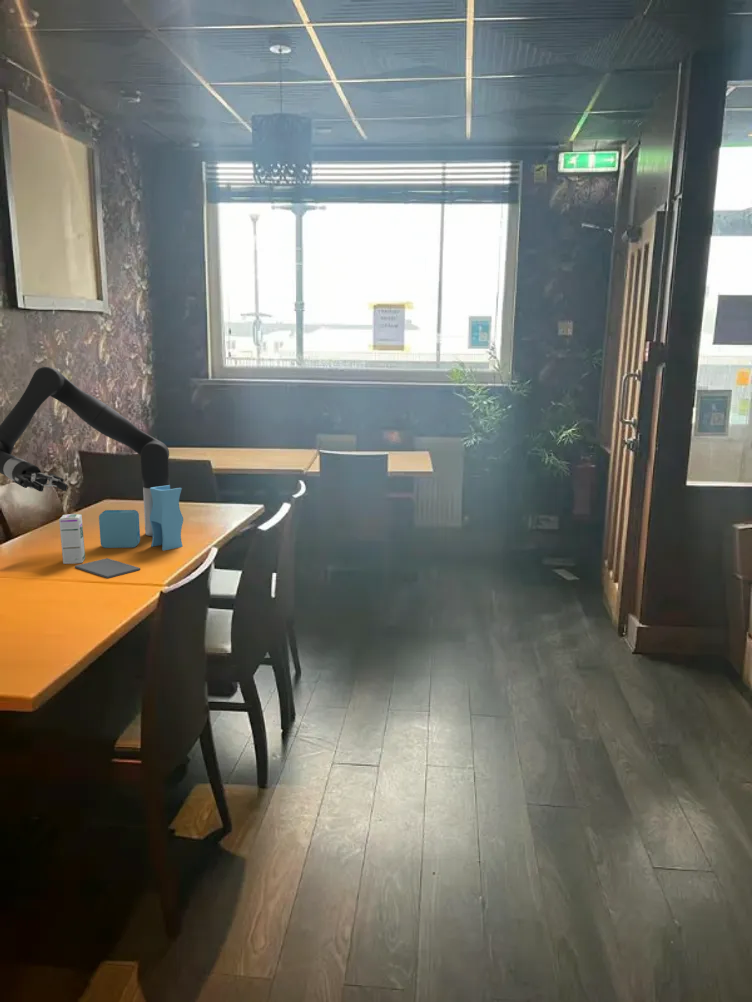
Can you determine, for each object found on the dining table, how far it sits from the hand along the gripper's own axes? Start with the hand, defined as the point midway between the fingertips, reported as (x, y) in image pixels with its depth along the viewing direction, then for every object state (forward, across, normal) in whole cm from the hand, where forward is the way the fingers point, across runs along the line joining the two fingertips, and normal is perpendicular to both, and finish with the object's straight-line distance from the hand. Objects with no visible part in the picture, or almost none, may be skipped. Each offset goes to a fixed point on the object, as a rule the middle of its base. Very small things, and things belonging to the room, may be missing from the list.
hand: (54, 488), depth 231 cm
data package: (+13, +20, +17) cm, 29 cm away
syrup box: (+15, 0, +19) cm, 24 cm away
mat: (+30, -1, +15) cm, 34 cm away
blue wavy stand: (+26, +28, +13) cm, 40 cm away
